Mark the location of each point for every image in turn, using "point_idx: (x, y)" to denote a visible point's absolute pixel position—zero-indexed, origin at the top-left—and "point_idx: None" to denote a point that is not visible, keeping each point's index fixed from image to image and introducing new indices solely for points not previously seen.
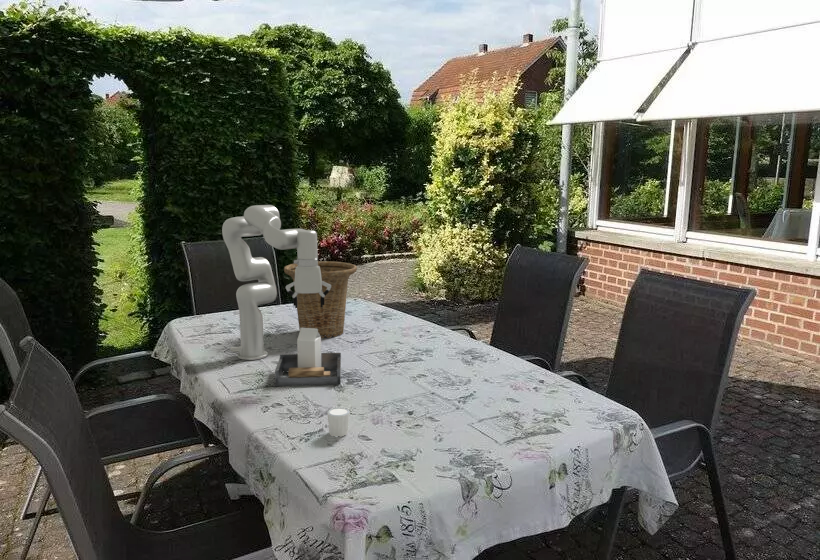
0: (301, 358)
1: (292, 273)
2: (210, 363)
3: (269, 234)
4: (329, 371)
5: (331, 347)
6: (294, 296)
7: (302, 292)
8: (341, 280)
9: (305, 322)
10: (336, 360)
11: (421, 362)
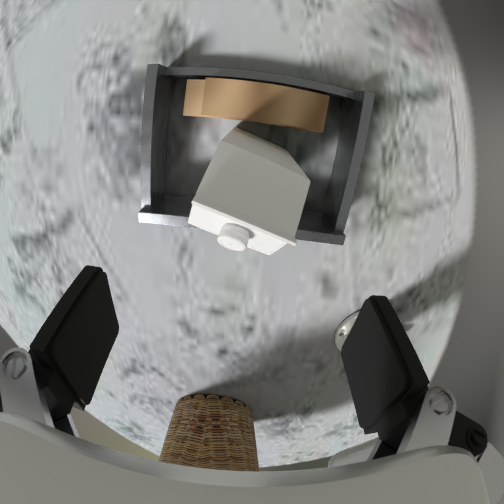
0: (281, 154)
1: None
2: (441, 297)
3: None
4: (186, 114)
5: (190, 355)
6: (432, 405)
7: (377, 477)
8: None
9: (242, 425)
10: (159, 204)
11: (12, 227)
